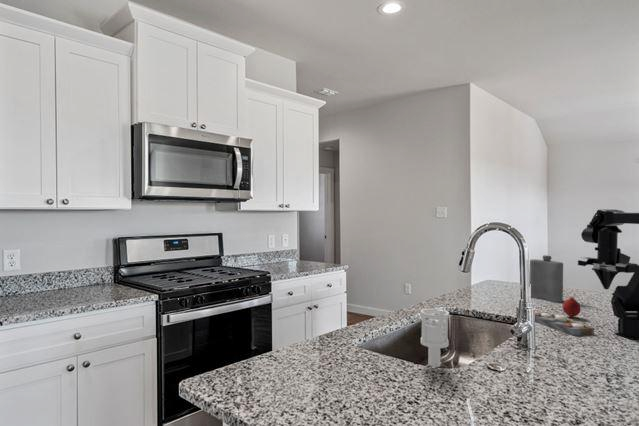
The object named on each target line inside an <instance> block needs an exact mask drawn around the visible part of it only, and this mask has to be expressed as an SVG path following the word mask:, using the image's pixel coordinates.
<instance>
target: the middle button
mask: <svg viewBox="0 0 639 426" xmlns="http://www.w3.org/2000/svg"><path fill="white" fill-rule="evenodd" d="M554 315H555V319H556V321H559V322H567V319H568V315H565V314H564V315H563V314H554Z"/></svg>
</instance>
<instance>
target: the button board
mask: <svg viewBox="0 0 639 426" xmlns="http://www.w3.org/2000/svg"><path fill="white" fill-rule="evenodd" d="M534 313H535V321H534V322H535V323H538V324H540V325H543V326H546V327H549V328H551V329H554V330H557V331H559V332H562V333H565V334H567V335H571V336H575V337H576V336H588V335H595V328H594V327H592V326H588V325H586V324H583V323H579V322H576V321H573V320H570V319H568V318H567V322H559V321H556V319H555V315H556V314H552V317H544V316H541V313H542V312H534ZM544 313H547V312H544ZM571 323H578V324H582V325H584V327H582V328H576V327H573V325H572V324H571Z"/></svg>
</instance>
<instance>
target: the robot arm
mask: <svg viewBox="0 0 639 426" xmlns="http://www.w3.org/2000/svg"><path fill="white" fill-rule="evenodd" d="M625 224H630V225H639V212H626V211H623V210H620V209H602V208H601V209H597V210H596V212H595V213H594V215H593V216H592V219H591V221H590V222H589V223H588V224H586V227H585V228H584V229H583V230H582V232H581V238H582V239H581V240H583V241H584V242H586V243H591V244H596V245H597V246H595V247H594V251H597V255H596V256H597V257H589V256H588V257H579V259H578V260H577V266H582V267H586V266H588V265H589V266H593V267H592V268H591V270H592V271H594V273H595V274H596V276H597V278H598V280H599V281H600V284H601V285H602V287H603V289H604V290H610V287H611V285H612V283H613V281H614V278H615V277H616V275H618V274H619V273H627V274H631V273H632V276H631V278H630V279H629V281H628V282H627V284H626V285H617V286H616V287H615V290H614V291H613V293H611V295H612V297H611V300H610V303H611V307H612V308H611V309H612V312H613V316H614V317H615V318H618V319H617V331H616V332H614V334H615V335H617V336H620V337H623V338H626V339H630V340H635V341H636V340H639V264H637V263H633V262H630V261H631V256H628V255H627V254H624V253H622V250H621V248H618V239H619V238H618V234H620V233H622V232H623V230H622V229H620V228H619V226H622V225H625Z"/></svg>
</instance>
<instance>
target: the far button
mask: <svg viewBox="0 0 639 426" xmlns="http://www.w3.org/2000/svg"><path fill="white" fill-rule="evenodd" d="M540 313H541V316H544V317H552V315H553V314H551V313H549V312H546V313H545V312H540Z"/></svg>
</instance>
